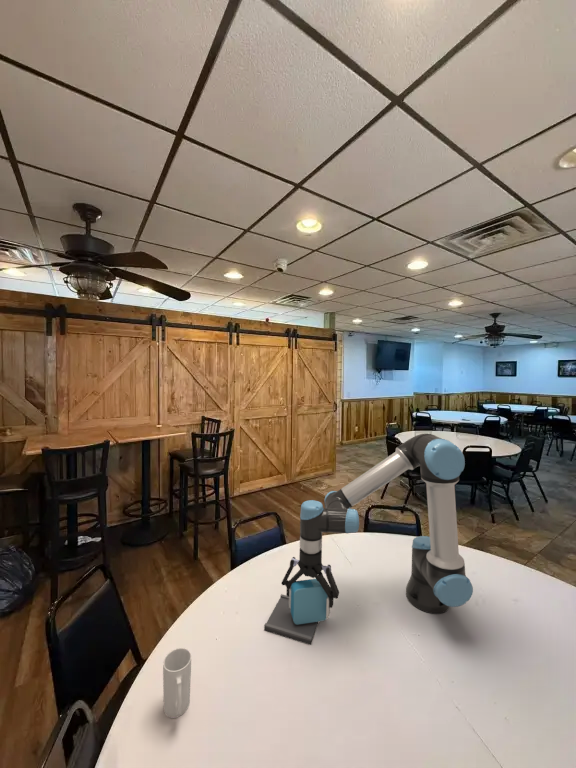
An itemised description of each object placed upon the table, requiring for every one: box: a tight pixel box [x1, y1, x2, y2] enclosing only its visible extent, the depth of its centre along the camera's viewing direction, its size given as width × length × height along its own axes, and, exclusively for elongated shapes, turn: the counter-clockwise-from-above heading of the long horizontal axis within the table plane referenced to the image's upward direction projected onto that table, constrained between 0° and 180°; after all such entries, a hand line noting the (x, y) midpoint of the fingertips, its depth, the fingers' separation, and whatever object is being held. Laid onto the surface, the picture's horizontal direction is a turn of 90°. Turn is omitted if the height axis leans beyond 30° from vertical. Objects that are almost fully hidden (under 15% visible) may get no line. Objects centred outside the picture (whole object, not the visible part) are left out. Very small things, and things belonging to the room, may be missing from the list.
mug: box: [162, 647, 192, 719], centre depth 79 cm, size 10×7×12 cm, turn 23°
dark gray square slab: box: [263, 593, 320, 646], centre depth 110 cm, size 16×16×2 cm
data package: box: [291, 578, 327, 625], centre depth 109 cm, size 12×4×12 cm, turn 103°
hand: (309, 610), depth 109 cm, fingers closed on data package, 12 cm apart
